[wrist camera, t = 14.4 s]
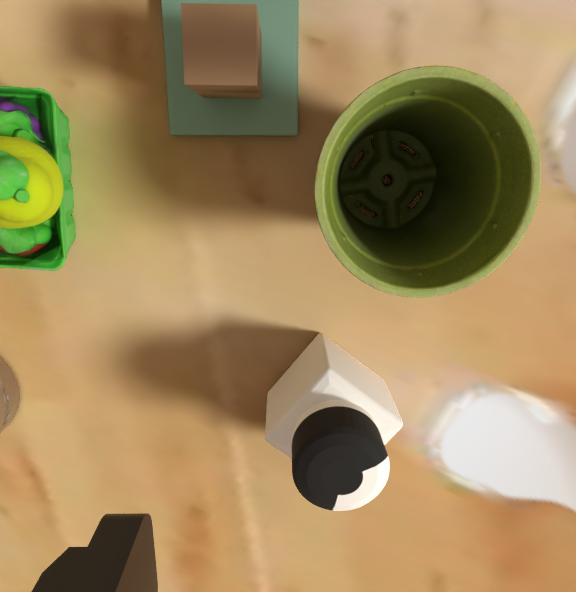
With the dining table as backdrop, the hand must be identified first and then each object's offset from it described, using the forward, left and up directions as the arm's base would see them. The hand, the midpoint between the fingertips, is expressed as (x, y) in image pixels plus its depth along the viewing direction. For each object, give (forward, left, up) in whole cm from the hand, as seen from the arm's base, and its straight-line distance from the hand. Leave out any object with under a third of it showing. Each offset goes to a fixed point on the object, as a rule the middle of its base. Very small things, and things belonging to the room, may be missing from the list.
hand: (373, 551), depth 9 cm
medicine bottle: (+2, -12, -30) cm, 33 cm away
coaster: (-5, +12, -30) cm, 33 cm away
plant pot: (+6, +5, -30) cm, 31 cm away
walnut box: (-5, +12, -29) cm, 32 cm away
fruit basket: (-19, +5, -30) cm, 36 cm away
